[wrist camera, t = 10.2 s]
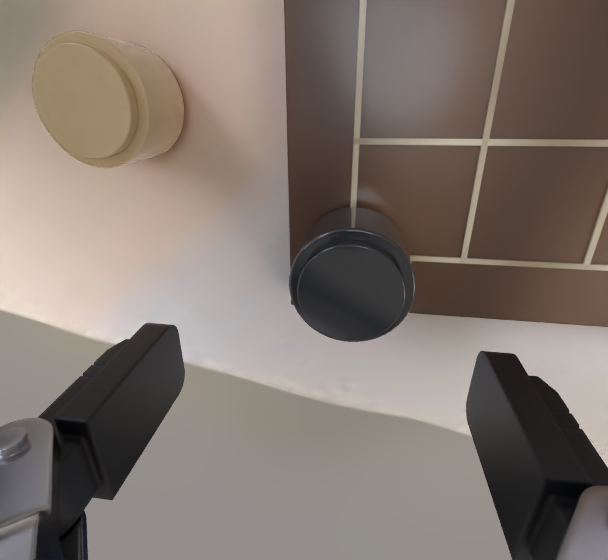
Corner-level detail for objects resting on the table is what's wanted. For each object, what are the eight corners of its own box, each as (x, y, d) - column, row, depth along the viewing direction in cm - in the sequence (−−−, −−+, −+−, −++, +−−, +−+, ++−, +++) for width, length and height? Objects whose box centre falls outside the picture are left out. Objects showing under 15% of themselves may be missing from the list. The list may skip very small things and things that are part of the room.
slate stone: (303, 297, 18) (287, 345, 15) (302, 202, 16) (283, 230, 13) (401, 303, 18) (410, 355, 14) (413, 205, 16) (426, 235, 12)
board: (296, 291, 20) (290, 306, 18) (286, -296, 12) (274, -354, 10) (733, 319, 17) (767, 339, 16) (1146, -436, 9) (1300, -544, 7)
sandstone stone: (106, 156, 18) (43, 169, 15) (82, 46, 17) (3, 30, 13) (195, 157, 18) (151, 171, 14) (181, 42, 16) (127, 25, 12)
